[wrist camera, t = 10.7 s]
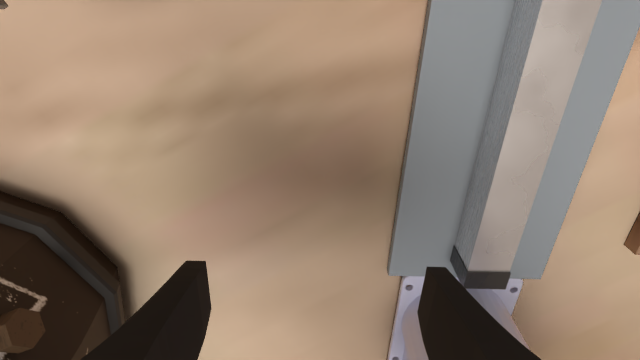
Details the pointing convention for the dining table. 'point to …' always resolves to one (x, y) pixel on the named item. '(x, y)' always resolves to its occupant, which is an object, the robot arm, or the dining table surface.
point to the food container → (3, 4)
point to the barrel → (52, 286)
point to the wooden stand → (634, 238)
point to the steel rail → (519, 134)
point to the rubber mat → (468, 121)
